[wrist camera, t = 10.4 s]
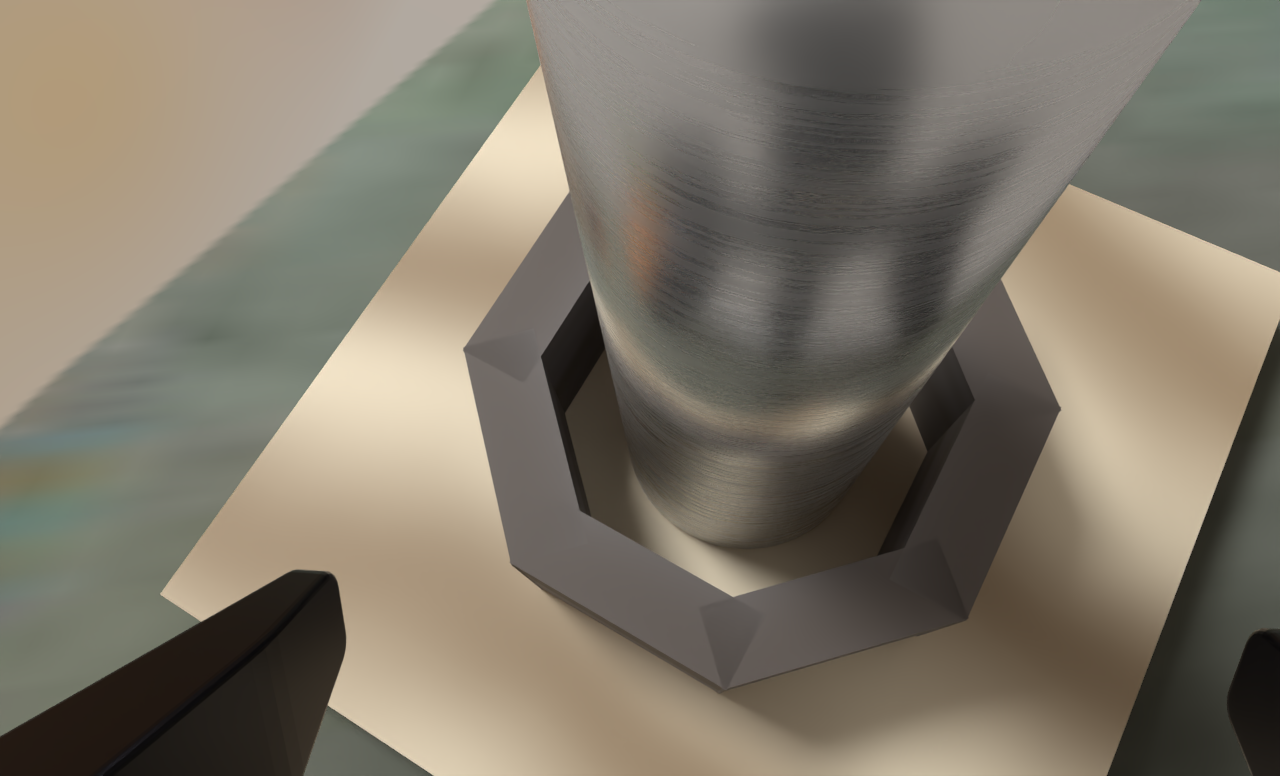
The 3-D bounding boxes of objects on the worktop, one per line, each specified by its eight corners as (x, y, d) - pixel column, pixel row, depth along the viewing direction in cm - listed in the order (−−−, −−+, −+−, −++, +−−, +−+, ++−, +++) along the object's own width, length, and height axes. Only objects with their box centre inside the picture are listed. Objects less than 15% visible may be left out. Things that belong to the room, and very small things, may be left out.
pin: (882, 531, 16) (1443, 8, 4) (643, 564, 16) (512, 136, 4) (834, 314, 18) (1145, -534, 6) (615, 344, 18) (460, -440, 6)
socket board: (945, 1091, 15) (1046, 1244, 11) (201, 603, 18) (53, 570, 14) (1249, 310, 19) (1410, 196, 15) (602, 32, 22) (582, -126, 18)
